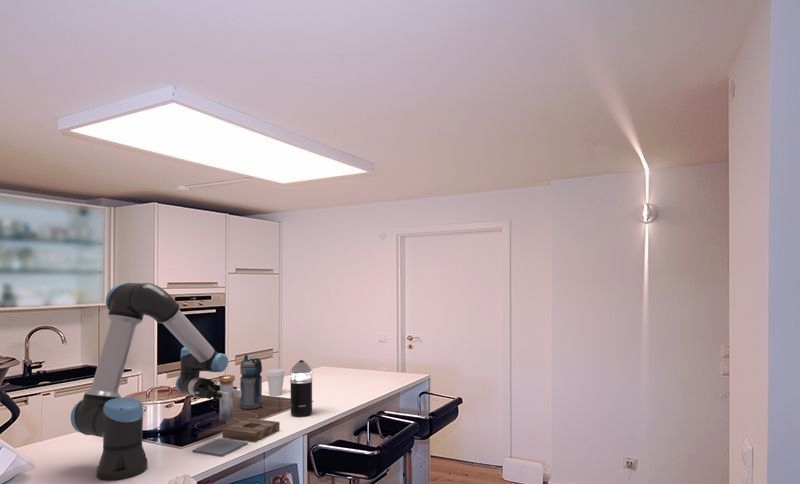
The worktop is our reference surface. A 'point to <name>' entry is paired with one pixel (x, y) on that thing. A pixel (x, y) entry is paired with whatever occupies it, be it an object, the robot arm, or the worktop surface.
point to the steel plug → (227, 406)
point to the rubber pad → (220, 447)
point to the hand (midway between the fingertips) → (234, 395)
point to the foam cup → (275, 381)
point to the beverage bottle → (251, 383)
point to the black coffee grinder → (301, 389)
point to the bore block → (251, 430)
